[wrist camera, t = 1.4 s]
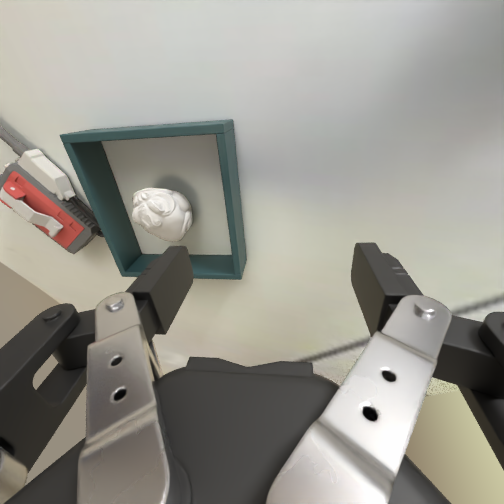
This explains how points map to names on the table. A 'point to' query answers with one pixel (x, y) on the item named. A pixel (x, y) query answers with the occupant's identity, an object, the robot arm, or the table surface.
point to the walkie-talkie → (46, 197)
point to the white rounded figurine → (162, 213)
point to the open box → (114, 213)
